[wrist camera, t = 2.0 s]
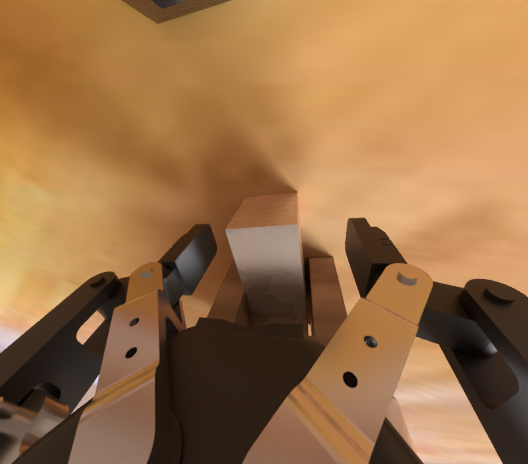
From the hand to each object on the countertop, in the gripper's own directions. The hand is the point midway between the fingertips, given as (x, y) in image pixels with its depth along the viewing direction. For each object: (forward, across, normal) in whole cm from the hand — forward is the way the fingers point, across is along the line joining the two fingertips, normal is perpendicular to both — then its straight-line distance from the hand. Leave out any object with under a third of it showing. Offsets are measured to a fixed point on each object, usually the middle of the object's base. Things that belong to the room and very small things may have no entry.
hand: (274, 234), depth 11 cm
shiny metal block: (+4, 0, +5) cm, 6 cm away
